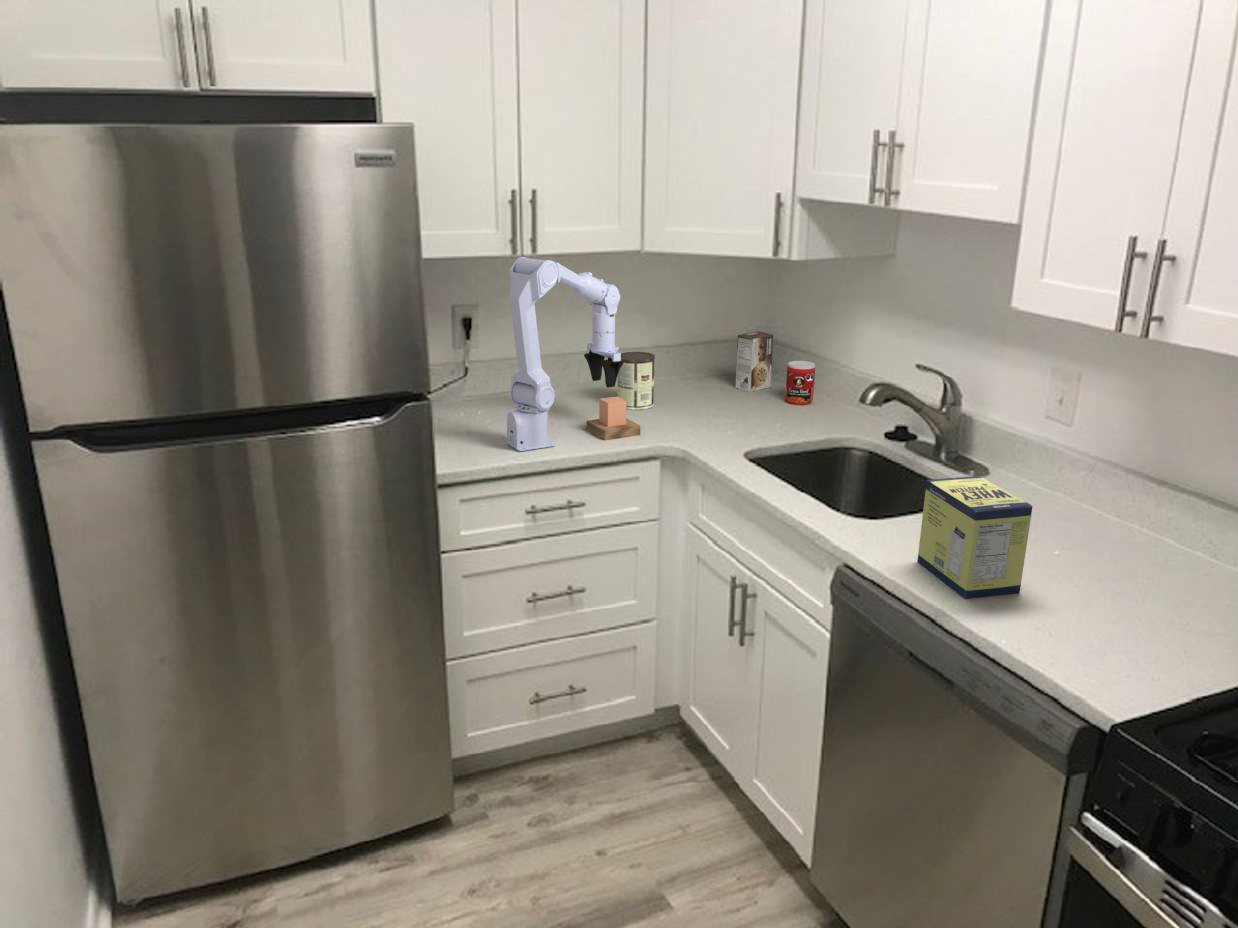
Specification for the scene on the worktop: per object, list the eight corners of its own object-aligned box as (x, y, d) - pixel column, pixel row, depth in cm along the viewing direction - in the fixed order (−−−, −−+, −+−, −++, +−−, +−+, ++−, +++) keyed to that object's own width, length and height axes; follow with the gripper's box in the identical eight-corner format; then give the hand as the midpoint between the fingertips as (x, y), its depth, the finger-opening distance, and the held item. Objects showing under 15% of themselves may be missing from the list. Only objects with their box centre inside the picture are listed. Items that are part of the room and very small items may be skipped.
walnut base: (605, 442, 238) (605, 431, 237) (586, 432, 246) (586, 420, 245) (640, 437, 242) (640, 425, 241) (620, 426, 250) (621, 415, 249)
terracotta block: (607, 426, 240) (608, 403, 238) (599, 421, 244) (599, 398, 242) (625, 424, 242) (626, 401, 240) (617, 419, 246) (617, 396, 244)
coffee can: (629, 398, 275) (630, 349, 271) (660, 404, 270) (662, 354, 266) (609, 406, 267) (609, 356, 263) (641, 412, 262) (642, 361, 257)
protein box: (967, 555, 174) (978, 474, 169) (1021, 593, 160) (1035, 505, 155) (915, 561, 172) (924, 478, 166) (965, 600, 157) (977, 511, 152)
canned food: (783, 404, 271) (785, 365, 268) (787, 397, 278) (789, 359, 275) (811, 406, 269) (813, 367, 265) (814, 399, 276) (817, 361, 273)
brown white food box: (755, 383, 294) (758, 330, 288) (771, 387, 289) (774, 334, 284) (734, 388, 288) (736, 334, 283) (750, 392, 283) (753, 337, 278)
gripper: (631, 334, 240) (630, 388, 245) (604, 325, 252) (603, 375, 257) (606, 337, 237) (606, 391, 241) (579, 327, 249) (580, 378, 253)
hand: (603, 383), depth 249 cm, fingers open, 7 cm apart
